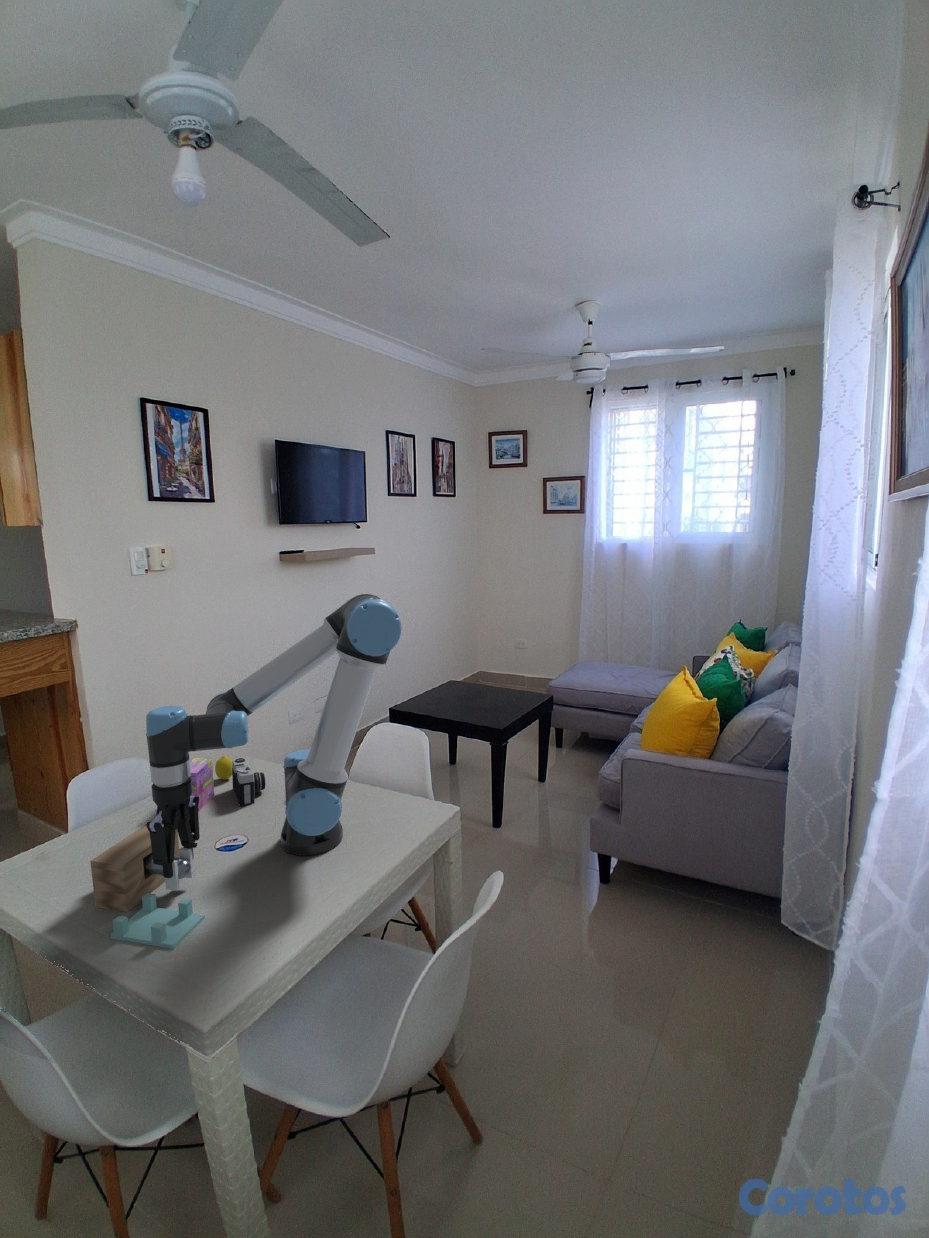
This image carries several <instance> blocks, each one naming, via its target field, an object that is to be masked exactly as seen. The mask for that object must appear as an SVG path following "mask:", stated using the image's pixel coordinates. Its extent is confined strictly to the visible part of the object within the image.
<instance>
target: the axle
mask: <svg viewBox="0 0 929 1238" xmlns="http://www.w3.org/2000/svg"><path fill="white" fill-rule="evenodd" d="M174 860H177V865H178V877H179V880H181V879H182V880H183V879H185V878H186V877H187V876H188V875H189V873H190V872H191V863H190V862H189V861H188V860H186V859H182V858H176V857H174ZM143 865H144V873H149V874H155V875H160V876H163V866H162V865H156V864H154V863H153V856H152V853H150V854H149V855H147V856H146V857H144V858H143Z"/></svg>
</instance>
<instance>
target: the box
mask: <svg viewBox="0 0 929 1238" xmlns="http://www.w3.org/2000/svg"><path fill="white" fill-rule="evenodd" d="M190 768H191V776H190V778H191V783H192V794H191V796H198V797H199V804H198V813H199V812H201V810H202V809H203V808H204V807H205V806H206V805H207V804H208V803H209V802H211V800H212V799H213V798H214V797H215V785H214V783H215V782H214V770H213V769H214V768H213V758H211V757H209V758H205V757H204V758H203V757H202V758H201V757H198V758H197V757H196V758H195V757H194V758H192V759H191V760H190Z"/></svg>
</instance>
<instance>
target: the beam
mask: <svg viewBox="0 0 929 1238" xmlns="http://www.w3.org/2000/svg"><path fill="white" fill-rule="evenodd" d="M179 841H180V840H179V834H178V831H177V830H176V832H175V849H174V857H176V858H180V857H179V849H180V843H179ZM150 853H152V848H151V840H150V832H149V830H148V829H147V827H146V824H145V825H143V826H141V827H140V828H139V829H136V830H135V831H134V832H133V833H131V834H129V835H127V836H126V837H125V838H123V839H122V840H120V841H118V842H117V843H115V844H114V845H113V846H111V847H109V848H108V849H106V850H105V851H103V852H102V853H100V854H98V855H97V856H95V857H94V858H93V859H91V860H90V861H89V862H90V868H91V869H90V871H91V878H92V879H91V880H92V888H93V899H94V906H95V908H98V909H99V908H101V909H105V910H106V909H107V910H112V911H118V912H126V913H129V912H130V911H131V910H133V908H134V907H136V906H137V905H139V903H141V902H142V897H143V896H144V895H145V894H146V893H151V894H153V892H155V891H156V890H157V889H159V887H161V886H162V885H163V884H164V883H165V878H164V876H160V875H155V874H149V873H144V865H143V858H144V857H146V856H147V855H149V854H150Z"/></svg>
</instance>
